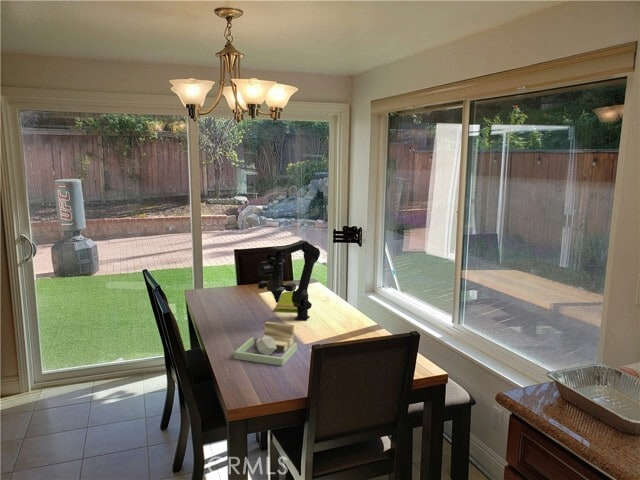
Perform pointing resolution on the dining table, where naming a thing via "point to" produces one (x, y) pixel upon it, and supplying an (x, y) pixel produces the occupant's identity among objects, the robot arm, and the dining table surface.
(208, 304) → the dining table surface
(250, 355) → the fence
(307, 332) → the dining table surface
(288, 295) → the dish towel
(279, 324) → the block
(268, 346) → the die
